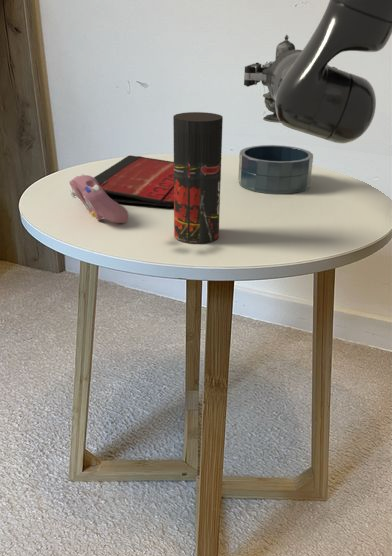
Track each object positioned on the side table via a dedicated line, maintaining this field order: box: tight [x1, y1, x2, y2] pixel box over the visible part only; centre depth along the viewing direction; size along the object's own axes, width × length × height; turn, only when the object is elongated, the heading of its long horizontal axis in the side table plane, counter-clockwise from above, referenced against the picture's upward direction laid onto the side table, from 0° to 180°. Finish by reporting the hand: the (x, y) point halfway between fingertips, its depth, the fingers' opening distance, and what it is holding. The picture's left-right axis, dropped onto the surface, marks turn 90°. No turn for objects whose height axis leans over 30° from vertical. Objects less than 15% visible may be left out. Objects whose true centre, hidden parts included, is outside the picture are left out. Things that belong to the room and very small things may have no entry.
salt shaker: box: [262, 34, 296, 124], centre depth 92 cm, size 6×6×12 cm
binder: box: [93, 155, 174, 208], centre depth 98 cm, size 16×2×21 cm
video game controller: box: [69, 173, 129, 224], centre depth 84 cm, size 10×5×7 cm, turn 27°
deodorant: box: [172, 111, 224, 245], centre depth 76 cm, size 6×6×15 cm
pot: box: [237, 144, 314, 195], centre depth 100 cm, size 12×12×5 cm
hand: (280, 69), depth 94 cm, fingers closed on salt shaker, 3 cm apart
